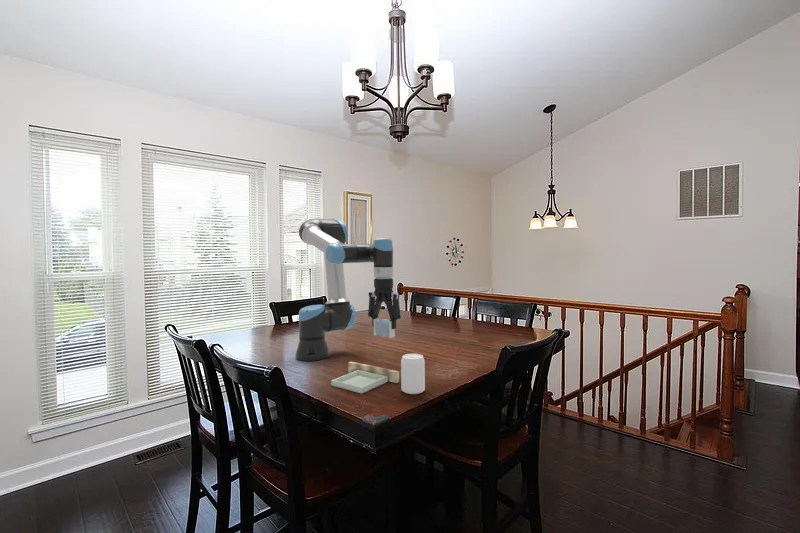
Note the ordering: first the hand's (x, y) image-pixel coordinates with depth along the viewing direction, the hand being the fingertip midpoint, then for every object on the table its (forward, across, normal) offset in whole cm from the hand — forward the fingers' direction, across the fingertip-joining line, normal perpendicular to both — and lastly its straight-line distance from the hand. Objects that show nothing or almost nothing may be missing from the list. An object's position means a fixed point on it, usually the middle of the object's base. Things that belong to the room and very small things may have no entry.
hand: (384, 335), depth 153 cm
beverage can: (+15, +20, -10) cm, 27 cm away
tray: (+15, 0, -15) cm, 21 cm away
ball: (0, 0, 0) cm, 0 cm away
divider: (+15, -1, -7) cm, 16 cm away
